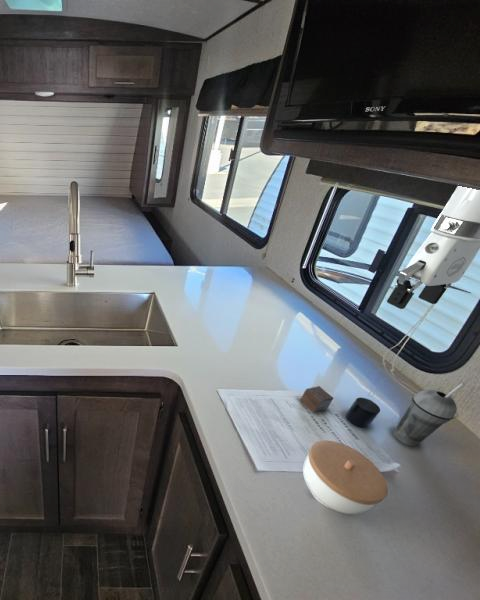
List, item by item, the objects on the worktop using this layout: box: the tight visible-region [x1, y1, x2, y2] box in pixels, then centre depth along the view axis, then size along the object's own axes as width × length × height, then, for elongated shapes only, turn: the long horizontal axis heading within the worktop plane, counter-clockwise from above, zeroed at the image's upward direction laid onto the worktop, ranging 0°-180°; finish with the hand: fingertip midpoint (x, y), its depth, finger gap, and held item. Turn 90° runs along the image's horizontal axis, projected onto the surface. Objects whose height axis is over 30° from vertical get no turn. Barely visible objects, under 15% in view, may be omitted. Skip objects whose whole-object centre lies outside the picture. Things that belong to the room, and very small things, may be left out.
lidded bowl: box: [302, 439, 389, 515], centre depth 65 cm, size 13×13×11 cm
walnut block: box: [299, 385, 334, 413], centre depth 88 cm, size 4×4×4 cm
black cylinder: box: [345, 396, 381, 429], centre depth 83 cm, size 5×5×6 cm
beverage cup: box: [393, 382, 466, 447], centre depth 76 cm, size 7×7×20 cm
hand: (410, 303), depth 70 cm, fingers open, 9 cm apart
